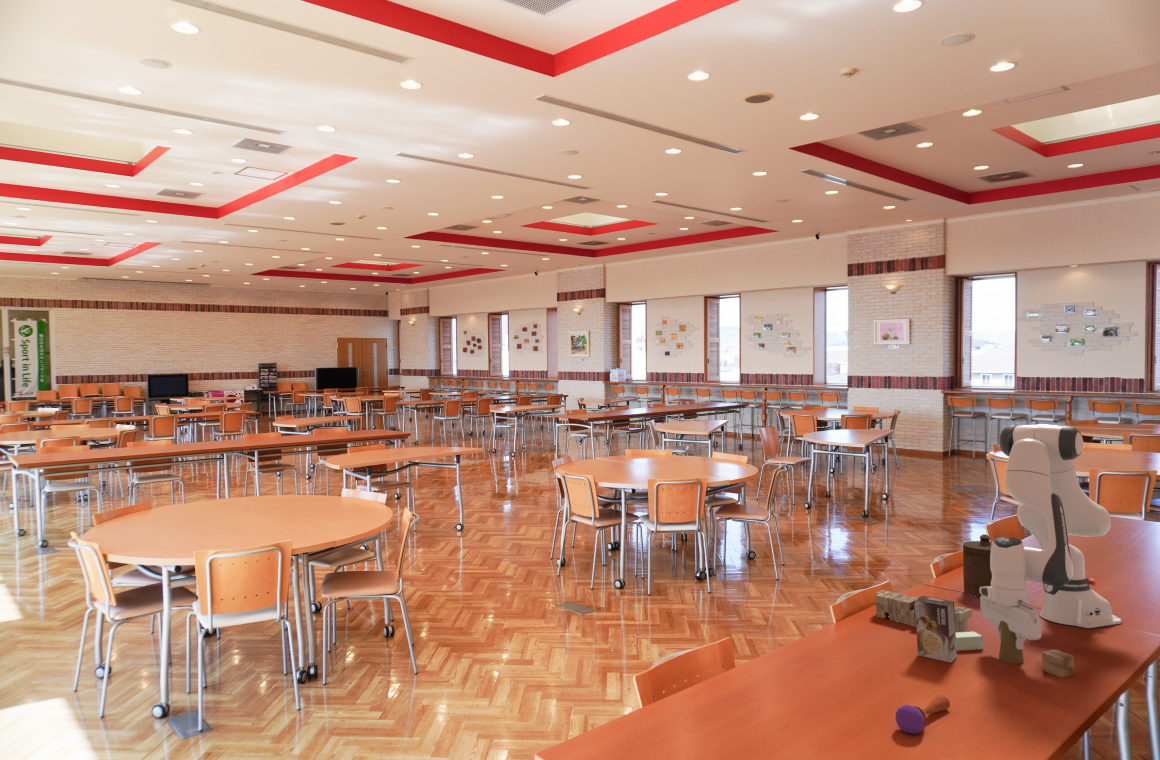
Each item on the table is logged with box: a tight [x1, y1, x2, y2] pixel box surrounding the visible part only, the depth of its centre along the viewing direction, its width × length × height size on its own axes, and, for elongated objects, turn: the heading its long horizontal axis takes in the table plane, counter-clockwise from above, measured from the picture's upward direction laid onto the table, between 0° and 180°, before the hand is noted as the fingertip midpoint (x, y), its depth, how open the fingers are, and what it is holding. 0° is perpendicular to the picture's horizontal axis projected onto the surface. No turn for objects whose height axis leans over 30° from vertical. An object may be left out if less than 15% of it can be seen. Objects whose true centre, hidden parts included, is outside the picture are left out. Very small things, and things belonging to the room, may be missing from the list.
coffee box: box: [915, 595, 958, 664], centre depth 199 cm, size 9×6×16 cm
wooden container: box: [962, 533, 993, 598], centre depth 255 cm, size 15×15×22 cm
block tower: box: [875, 589, 973, 632], centre depth 225 cm, size 8×8×29 cm
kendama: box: [895, 694, 951, 735], centre depth 161 cm, size 6×6×20 cm
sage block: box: [956, 631, 984, 652], centre depth 205 cm, size 8×4×4 cm, turn 95°
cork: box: [998, 621, 1025, 664], centre depth 195 cm, size 6×6×11 cm
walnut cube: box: [1041, 649, 1075, 678], centre depth 186 cm, size 5×5×5 cm
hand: (1010, 644), depth 195 cm, fingers closed on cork, 5 cm apart
